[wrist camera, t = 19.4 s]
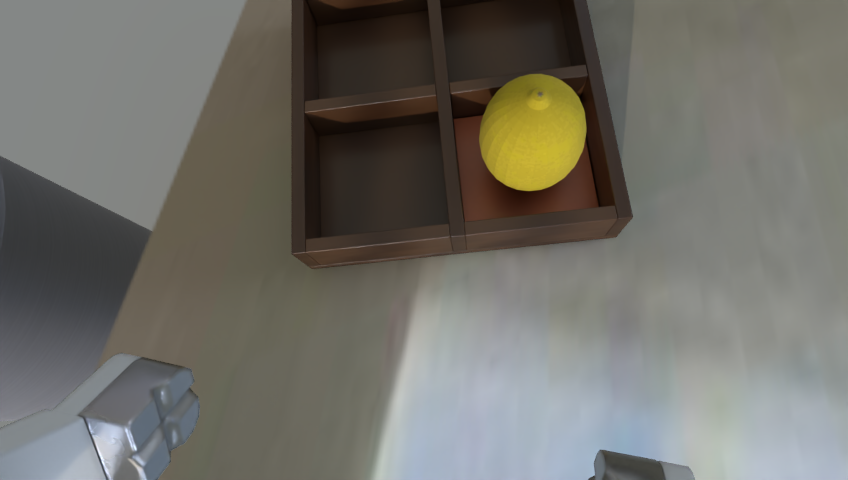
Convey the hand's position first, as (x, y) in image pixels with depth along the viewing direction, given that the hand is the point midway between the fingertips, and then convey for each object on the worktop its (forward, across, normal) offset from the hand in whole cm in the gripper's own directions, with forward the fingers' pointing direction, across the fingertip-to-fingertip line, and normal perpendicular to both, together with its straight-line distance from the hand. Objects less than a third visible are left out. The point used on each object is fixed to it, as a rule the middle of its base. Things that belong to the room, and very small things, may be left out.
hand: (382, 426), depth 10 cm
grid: (+26, +3, +1) cm, 26 cm away
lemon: (+23, -3, +3) cm, 24 cm away
